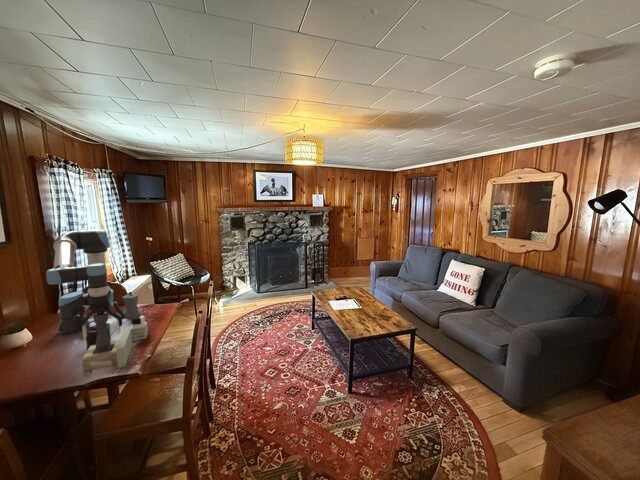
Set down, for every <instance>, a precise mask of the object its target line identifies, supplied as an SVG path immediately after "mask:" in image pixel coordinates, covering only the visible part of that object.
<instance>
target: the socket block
mask: <svg viewBox="0 0 640 480" xmlns="http://www.w3.org/2000/svg"><path fill="white" fill-rule="evenodd" d="M119 341H120V339H119V340H114V341H111V343H110V345H109V348H110V349H111V351H108V352H103V353H97V352H98V348H97V347H96V345H91V346H90V347H89V349H88V350H87V349H86V352H85V353H84V355H83V357H82V358H81V363H82V371H83V372H84V371H85V372H86V371H89V370H93V369H98V368H103V367H107V366H113V365H118V363H117V352H116V348H117V346H118V344H119Z"/></svg>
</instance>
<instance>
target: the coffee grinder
mask: <svg viewBox="0 0 640 480" xmlns="http://www.w3.org/2000/svg"><path fill="white" fill-rule="evenodd" d="M78 317H79V315H76V316H75V317H74V320H77V319H78ZM82 321H83V320H82V318H81V320H80V322H82ZM89 323H90V324H91V323H95V322H94V319H93V320H90V321H89V322H87V323H84V324H89ZM107 323H108V326H107V333H108V335H109V338H110V340H111V341H112V336H111V328H110V323H109V322H107ZM95 326H96V324H94V325H93V326H92V325H91V326H90V327H88V328H87V329H86V330H87V337H86V339H85V340H86V351H87V350H88V349H89V347H90V346H91V345H96V339H97V329H96V328H95Z"/></svg>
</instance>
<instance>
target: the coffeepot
mask: <svg viewBox="0 0 640 480" xmlns="http://www.w3.org/2000/svg"><path fill="white" fill-rule="evenodd" d="M138 300H139V294H138V293H132V291H130V292H127V294H126V295H123V296H122V301H123V305H124V307H125V309H124V314H125V315H126V317H125V319H129V318H130V319H132V318H133V317H135V316H139V315H141V314H140V310H139V306H138V303H139V301H138Z"/></svg>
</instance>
